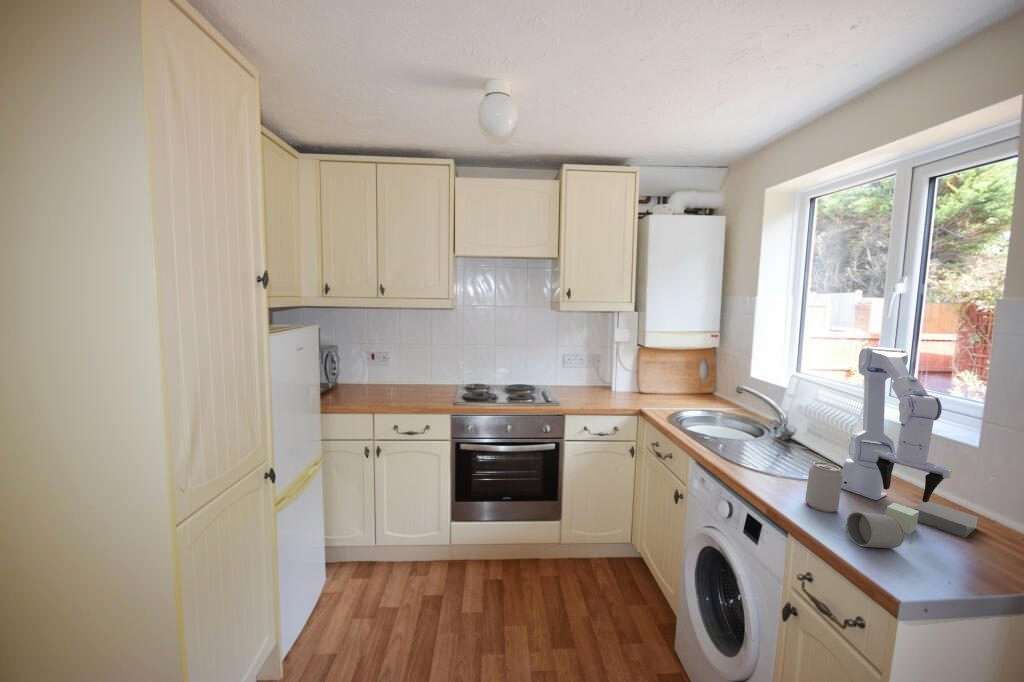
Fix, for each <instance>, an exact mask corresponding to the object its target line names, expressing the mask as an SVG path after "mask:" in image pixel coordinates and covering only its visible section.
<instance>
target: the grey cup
mask: <svg viewBox="0 0 1024 682" xmlns="http://www.w3.org/2000/svg"><path fill="white" fill-rule="evenodd" d="M845 530H846V531H847V533H848V536H849V538H850V539H851V540H852V542H853V543H854V544H855V545H858V546H859V547H862V548H877V549H879V548H880V549H897V548H899V547H900V546H901V545H903V542H904V537H905V535H904V532H903V530H902V527H901V526H900V524H899V523H898V522H897V521H896V520H895V519H893V518H891V517H889V516H886V514H880V513H871V512H864V511H852V512H850V514H848V517H847V519H846V523H845Z"/></svg>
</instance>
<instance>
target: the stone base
mask: <svg viewBox="0 0 1024 682" xmlns="http://www.w3.org/2000/svg"><path fill="white" fill-rule="evenodd" d="M913 509H914V510H917V511H919V515H918V521H917V522H920V523H923V524H926V525H928V526H930V527H934V528H937V529H940V530H941V531H944V532H948V533H950V534H953V535H955V536H959V537H961V538H963V539H964V538H967V537H968V536H969V535H970V534H971V533H972V532H973V531H974V530H975V529H976V528H977V524H978V519H979V517H978V516H977V515H973V514H970V513H967V512H964V511H960V510H957V509H955V508H951V507H949V506H945V505H943V504H938V503H935V502H932V501H930V500H929V501H928V502H922V503H920V504H919V505H917V506H915V507H914V508H913Z"/></svg>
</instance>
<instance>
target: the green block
mask: <svg viewBox="0 0 1024 682" xmlns="http://www.w3.org/2000/svg"><path fill="white" fill-rule="evenodd" d="M885 515H886V516H889V517H891V518H893V519H895V520H896V521H897V522H898V523H899V524H900V526H901V527H902V530H903V534H904V533H905V534H907V535H911V534H912V533H914V532H915V531H916V530H917V527H918V522H919V521H918V515H919V511H917V510H914V508H911V507H908V506H905V505H902V504H899V503H896V502H892V503H891V504H889V505H887V506H886V510H885Z"/></svg>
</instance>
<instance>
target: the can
mask: <svg viewBox="0 0 1024 682" xmlns="http://www.w3.org/2000/svg"><path fill="white" fill-rule="evenodd" d="M842 479H843V474H842V469H841V468H840V466H838V465H835V464H832V463H829V462H824V461H814V462H813V463H812V465H811V466H810V467H809V472H808V477H807V483H806V491H805V502H806V503H807V504H808V506H810V507H811V508H812V507H813V509H814V510H817V511H819V510H820V512H824V513H833V512H836V511H838V510H839V505H840V498H841V491H842V488H841V486H842Z"/></svg>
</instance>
